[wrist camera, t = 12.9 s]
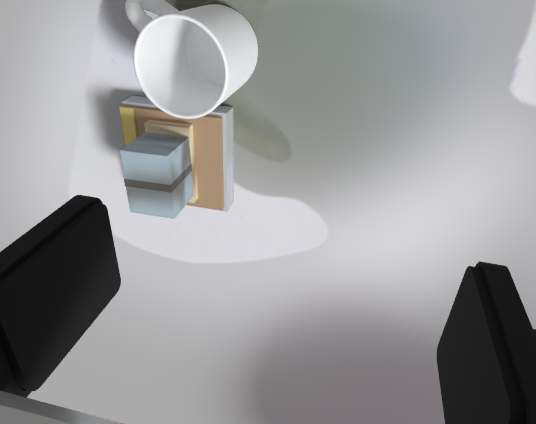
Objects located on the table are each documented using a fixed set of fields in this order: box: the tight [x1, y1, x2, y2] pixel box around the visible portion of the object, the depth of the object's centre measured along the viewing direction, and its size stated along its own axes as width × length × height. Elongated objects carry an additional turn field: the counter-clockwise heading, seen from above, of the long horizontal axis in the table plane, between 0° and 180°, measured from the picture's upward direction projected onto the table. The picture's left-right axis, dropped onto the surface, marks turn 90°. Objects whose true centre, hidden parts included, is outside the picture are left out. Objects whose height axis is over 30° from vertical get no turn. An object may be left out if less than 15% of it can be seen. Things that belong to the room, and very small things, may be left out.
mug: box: [125, 0, 258, 119], centre depth 38 cm, size 12×8×10 cm
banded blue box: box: [120, 120, 198, 219], centre depth 44 cm, size 9×5×6 cm, turn 178°
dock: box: [119, 96, 233, 211], centre depth 48 cm, size 12×12×3 cm
